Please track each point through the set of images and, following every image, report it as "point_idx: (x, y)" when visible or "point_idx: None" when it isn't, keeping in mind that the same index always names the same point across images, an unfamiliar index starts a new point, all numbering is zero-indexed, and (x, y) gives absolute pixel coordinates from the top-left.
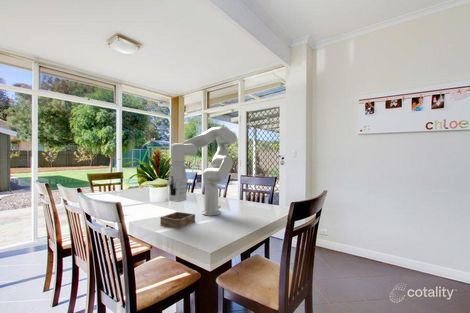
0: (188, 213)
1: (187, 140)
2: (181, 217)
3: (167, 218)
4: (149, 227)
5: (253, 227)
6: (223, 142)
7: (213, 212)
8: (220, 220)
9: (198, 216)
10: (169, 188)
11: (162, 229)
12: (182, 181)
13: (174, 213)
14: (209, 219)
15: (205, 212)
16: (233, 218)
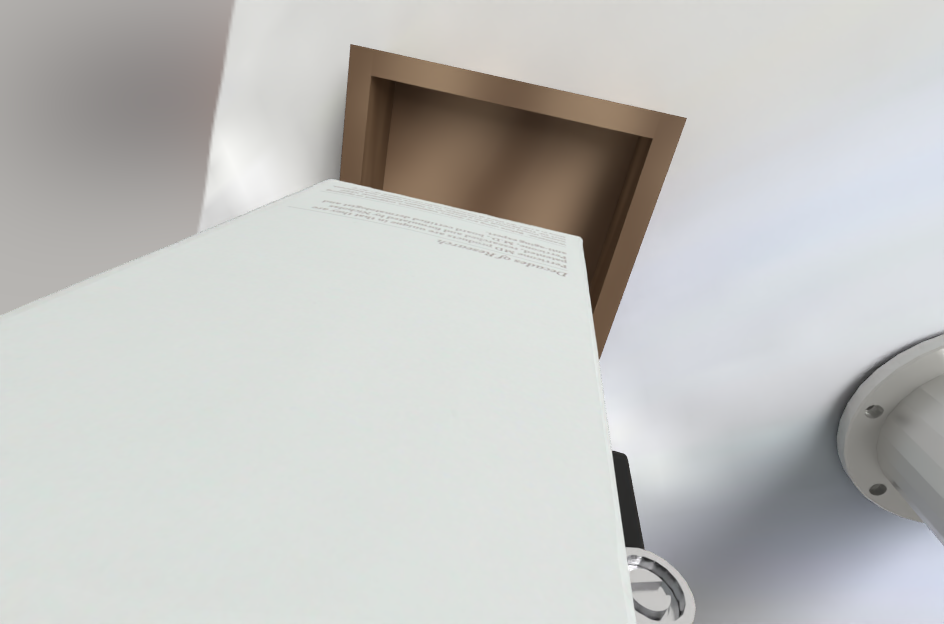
0: (611, 318)
1: None
2: (618, 204)
3: (341, 174)
4: None
5: None
6: None
7: (889, 481)
8: (665, 542)
9: (805, 324)
10: (108, 283)
11: (281, 169)
12: None
13: (591, 123)
14: (686, 458)
15: (920, 389)
16: (743, 618)
